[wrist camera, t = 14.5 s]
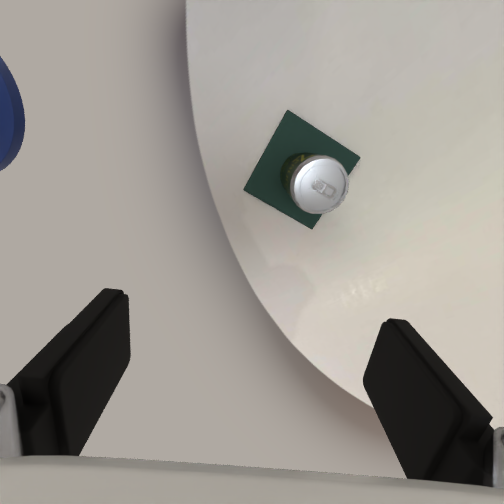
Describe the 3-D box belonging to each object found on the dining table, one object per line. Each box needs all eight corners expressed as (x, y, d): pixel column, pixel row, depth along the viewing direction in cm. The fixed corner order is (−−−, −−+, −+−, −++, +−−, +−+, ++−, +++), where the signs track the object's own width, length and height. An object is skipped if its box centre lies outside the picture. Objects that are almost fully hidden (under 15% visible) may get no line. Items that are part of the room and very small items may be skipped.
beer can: (329, 164, 36) (363, 173, 25) (307, 201, 38) (330, 226, 27) (292, 144, 35) (311, 144, 24) (272, 183, 37) (280, 199, 26)
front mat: (243, 189, 38) (243, 190, 37) (287, 110, 34) (287, 109, 34) (311, 228, 40) (312, 229, 39) (359, 157, 36) (360, 157, 36)
